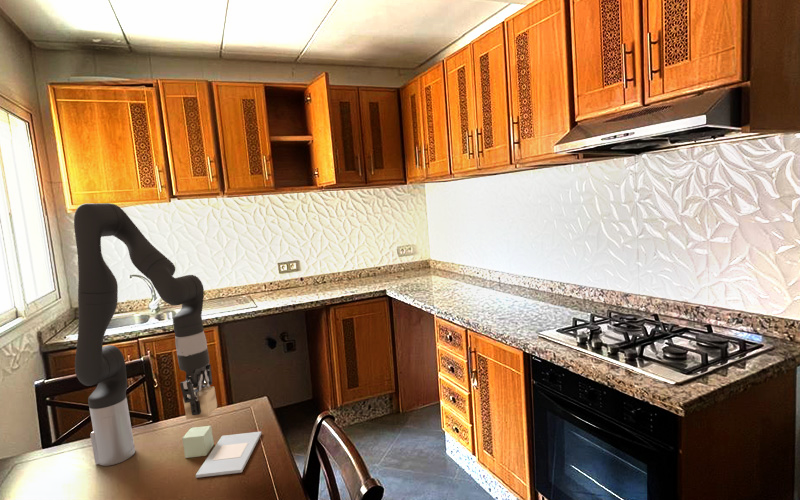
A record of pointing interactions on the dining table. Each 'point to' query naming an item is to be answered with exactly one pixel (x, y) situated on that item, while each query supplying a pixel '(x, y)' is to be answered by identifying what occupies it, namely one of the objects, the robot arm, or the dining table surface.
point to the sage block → (198, 441)
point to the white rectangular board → (229, 454)
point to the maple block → (203, 403)
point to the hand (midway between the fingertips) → (201, 408)
